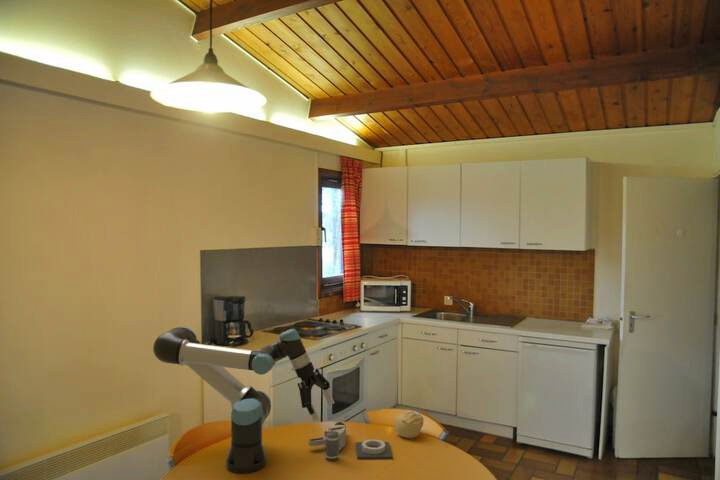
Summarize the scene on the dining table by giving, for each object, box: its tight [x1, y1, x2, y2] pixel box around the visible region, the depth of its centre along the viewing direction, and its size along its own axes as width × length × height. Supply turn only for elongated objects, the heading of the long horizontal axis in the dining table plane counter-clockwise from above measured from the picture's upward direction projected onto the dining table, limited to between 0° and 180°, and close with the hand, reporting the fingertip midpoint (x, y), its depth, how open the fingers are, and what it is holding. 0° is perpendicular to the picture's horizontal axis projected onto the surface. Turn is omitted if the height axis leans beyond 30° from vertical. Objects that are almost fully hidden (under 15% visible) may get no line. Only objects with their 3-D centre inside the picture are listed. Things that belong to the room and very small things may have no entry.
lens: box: [325, 431, 340, 462], centre depth 197 cm, size 5×5×10 cm
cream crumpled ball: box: [394, 410, 424, 439], centre depth 221 cm, size 12×12×11 cm
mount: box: [355, 439, 393, 460], centre depth 204 cm, size 14×14×3 cm
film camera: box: [307, 421, 347, 452], centre depth 212 cm, size 7×19×15 cm
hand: (324, 412), depth 204 cm, fingers open, 13 cm apart
